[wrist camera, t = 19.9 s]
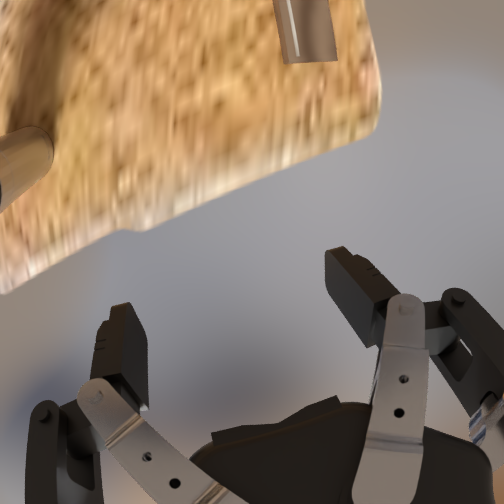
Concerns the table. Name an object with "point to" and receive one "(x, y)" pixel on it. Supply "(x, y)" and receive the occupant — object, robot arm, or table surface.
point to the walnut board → (305, 31)
